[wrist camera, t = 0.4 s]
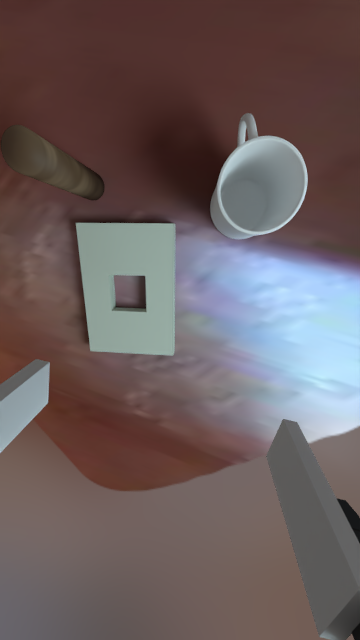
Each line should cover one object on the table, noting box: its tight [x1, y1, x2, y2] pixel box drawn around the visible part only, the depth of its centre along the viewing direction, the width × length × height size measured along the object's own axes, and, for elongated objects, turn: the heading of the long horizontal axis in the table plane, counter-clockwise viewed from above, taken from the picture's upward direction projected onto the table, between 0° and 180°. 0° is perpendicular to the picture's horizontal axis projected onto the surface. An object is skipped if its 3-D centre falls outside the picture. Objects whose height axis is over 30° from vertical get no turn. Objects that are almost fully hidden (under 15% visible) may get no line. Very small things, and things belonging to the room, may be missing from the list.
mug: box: [210, 113, 307, 239], centre depth 27 cm, size 12×9×12 cm
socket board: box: [76, 223, 175, 355], centre depth 37 cm, size 20×14×2 cm
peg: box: [1, 125, 104, 200], centre depth 27 cm, size 4×4×14 cm
